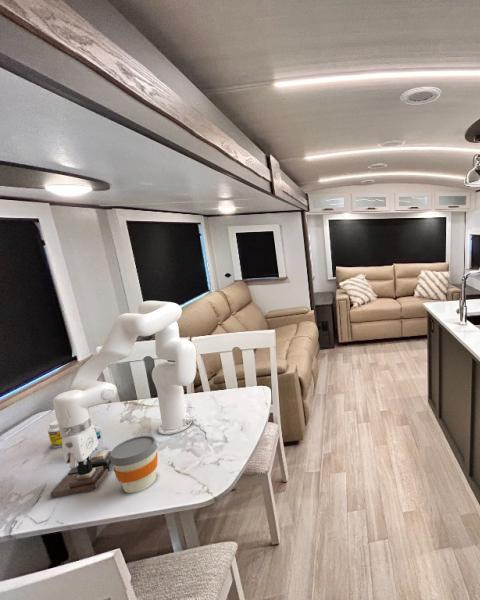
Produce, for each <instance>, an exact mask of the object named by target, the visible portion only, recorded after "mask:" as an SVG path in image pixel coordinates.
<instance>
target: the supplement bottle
mask: <svg viewBox="0 0 480 600" xmlns="http://www.w3.org/2000/svg"><path fill="white" fill-rule="evenodd" d="M47 433H48V439H49V442H50V447H51V448H62V436H61V435H60V431H59V426H58V422H57V419H56V420H53V421H51V422H50V423H49V427H48V428H47Z"/></svg>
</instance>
